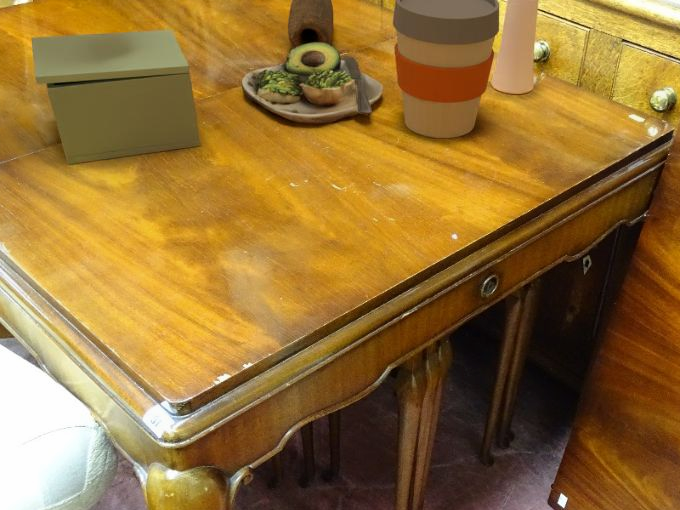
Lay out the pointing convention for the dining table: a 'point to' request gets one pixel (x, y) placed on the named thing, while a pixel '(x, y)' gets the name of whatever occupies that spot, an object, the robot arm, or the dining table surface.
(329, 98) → the avocado toast plate
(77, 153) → the storage box
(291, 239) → the dining table surface
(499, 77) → the cosmetic bottle
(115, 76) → the box lid
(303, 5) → the stone weight
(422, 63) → the reusable coffee cup
